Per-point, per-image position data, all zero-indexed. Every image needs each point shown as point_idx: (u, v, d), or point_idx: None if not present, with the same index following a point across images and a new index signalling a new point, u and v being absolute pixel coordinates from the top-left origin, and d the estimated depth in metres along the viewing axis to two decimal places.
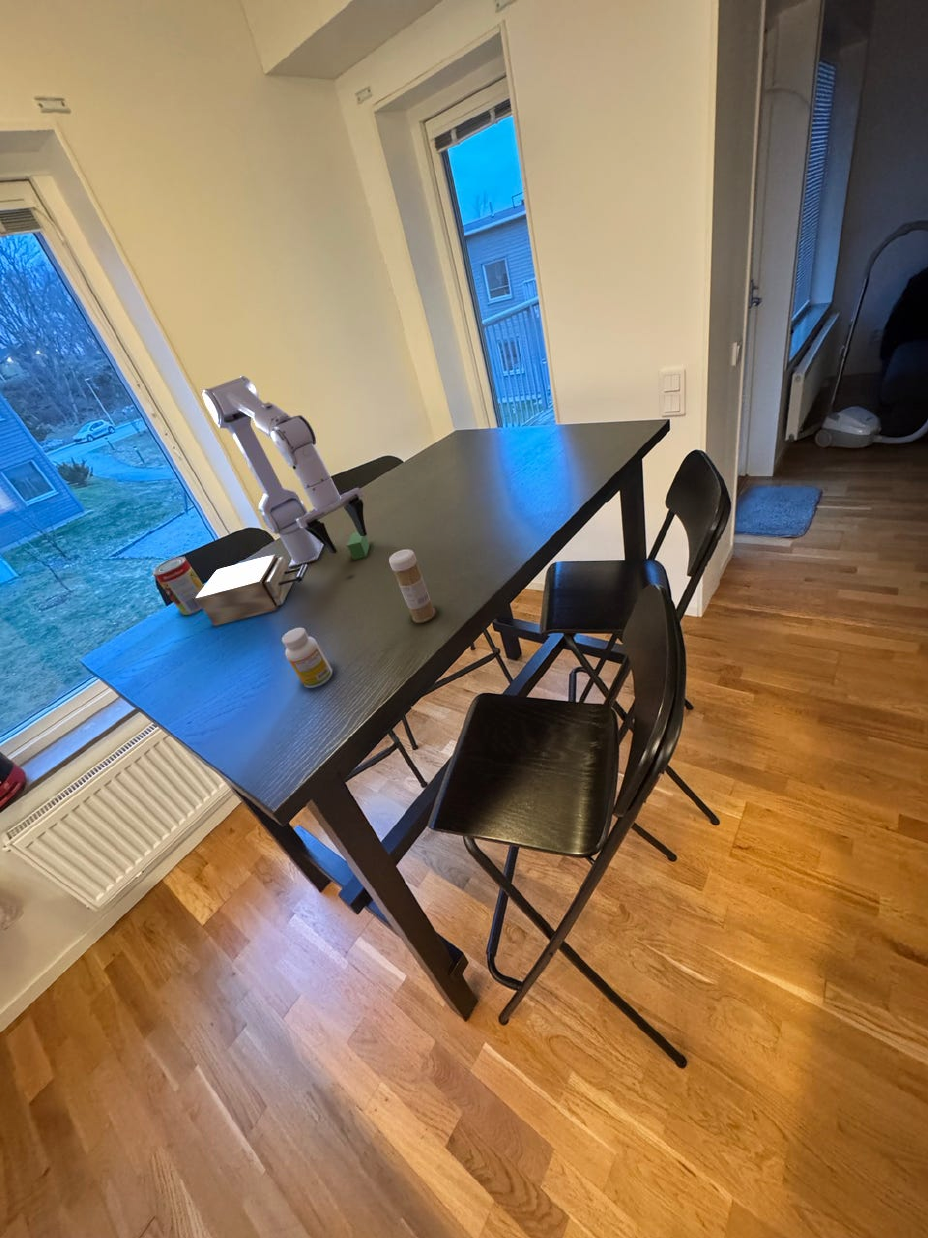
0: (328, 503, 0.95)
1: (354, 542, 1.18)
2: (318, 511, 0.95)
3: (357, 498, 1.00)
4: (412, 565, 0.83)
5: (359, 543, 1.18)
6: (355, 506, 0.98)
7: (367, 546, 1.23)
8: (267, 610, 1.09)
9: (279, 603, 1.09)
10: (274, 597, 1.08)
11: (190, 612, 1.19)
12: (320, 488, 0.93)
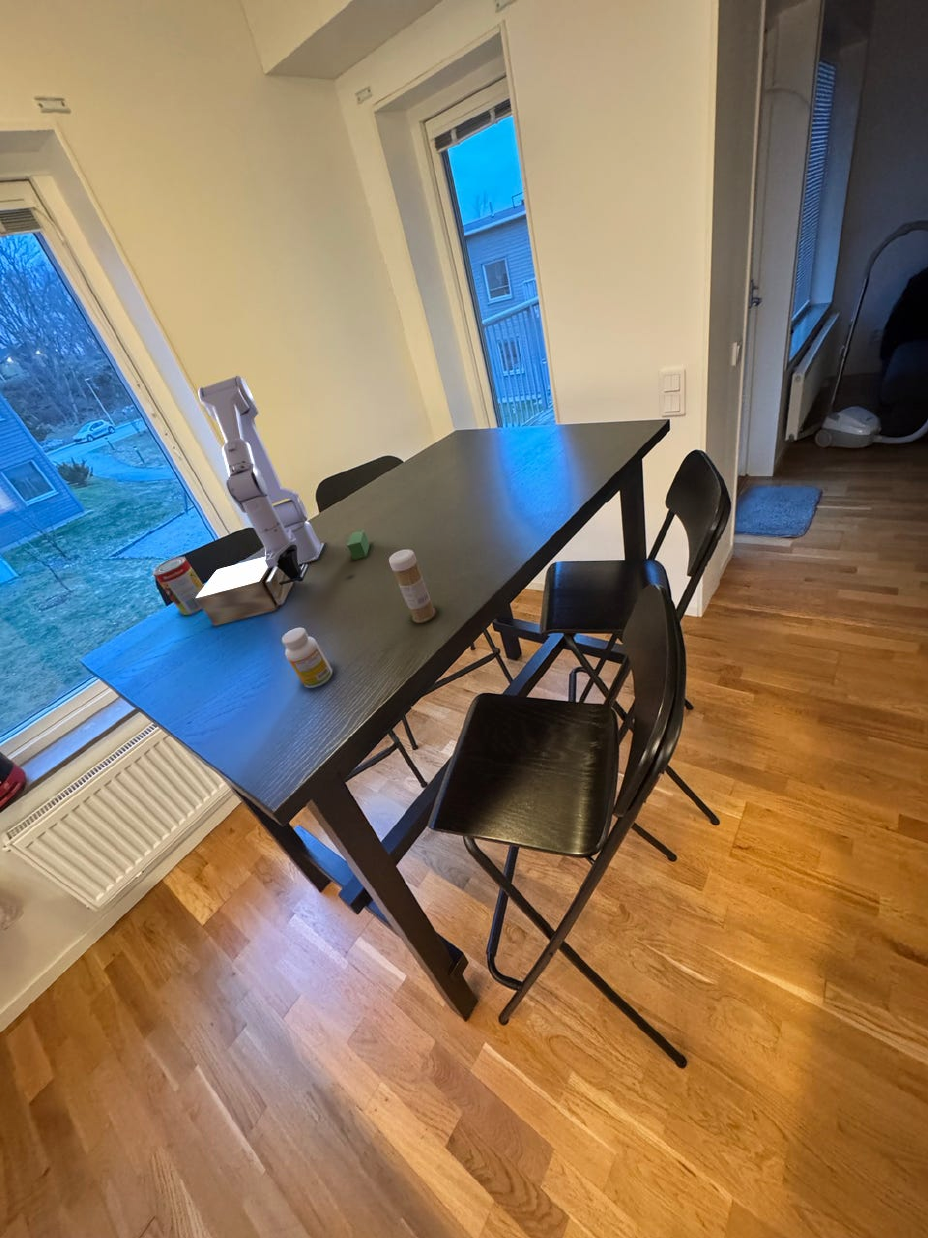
0: (287, 541, 1.06)
1: (354, 542, 1.18)
2: (283, 549, 1.04)
3: (291, 538, 1.13)
4: (412, 565, 0.83)
5: (359, 543, 1.18)
6: (295, 550, 1.08)
7: (367, 546, 1.23)
8: (267, 610, 1.09)
9: (280, 603, 1.09)
10: (275, 597, 1.08)
11: (190, 612, 1.19)
12: (280, 528, 1.04)
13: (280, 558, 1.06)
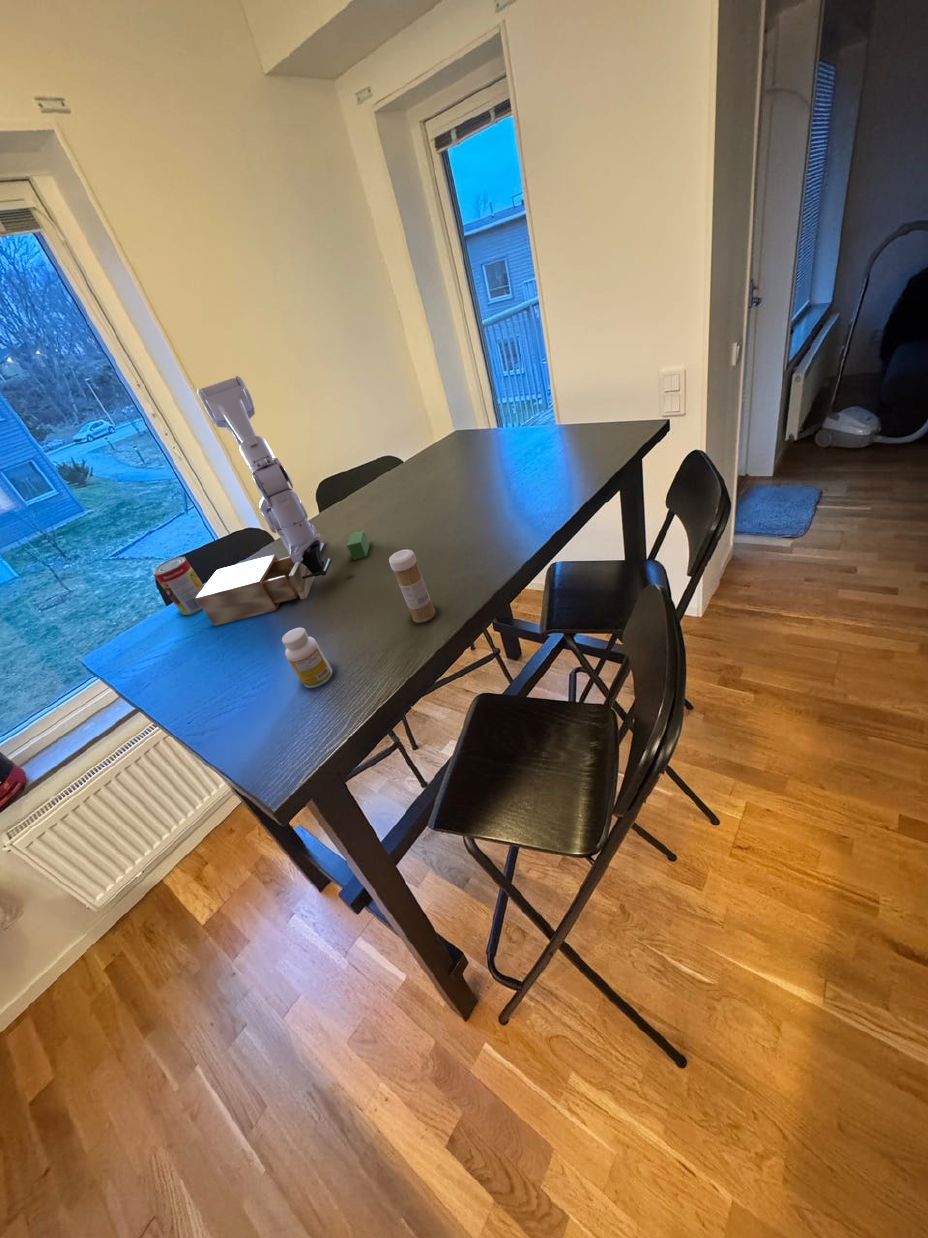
0: (311, 536, 1.05)
1: (354, 542, 1.18)
2: (307, 544, 1.04)
3: (314, 533, 1.12)
4: (412, 565, 0.83)
5: (359, 543, 1.18)
6: (318, 546, 1.08)
7: (367, 546, 1.23)
8: (267, 610, 1.09)
9: (303, 597, 1.08)
10: (298, 591, 1.07)
11: (190, 612, 1.19)
12: (305, 524, 1.03)
13: (304, 553, 1.06)
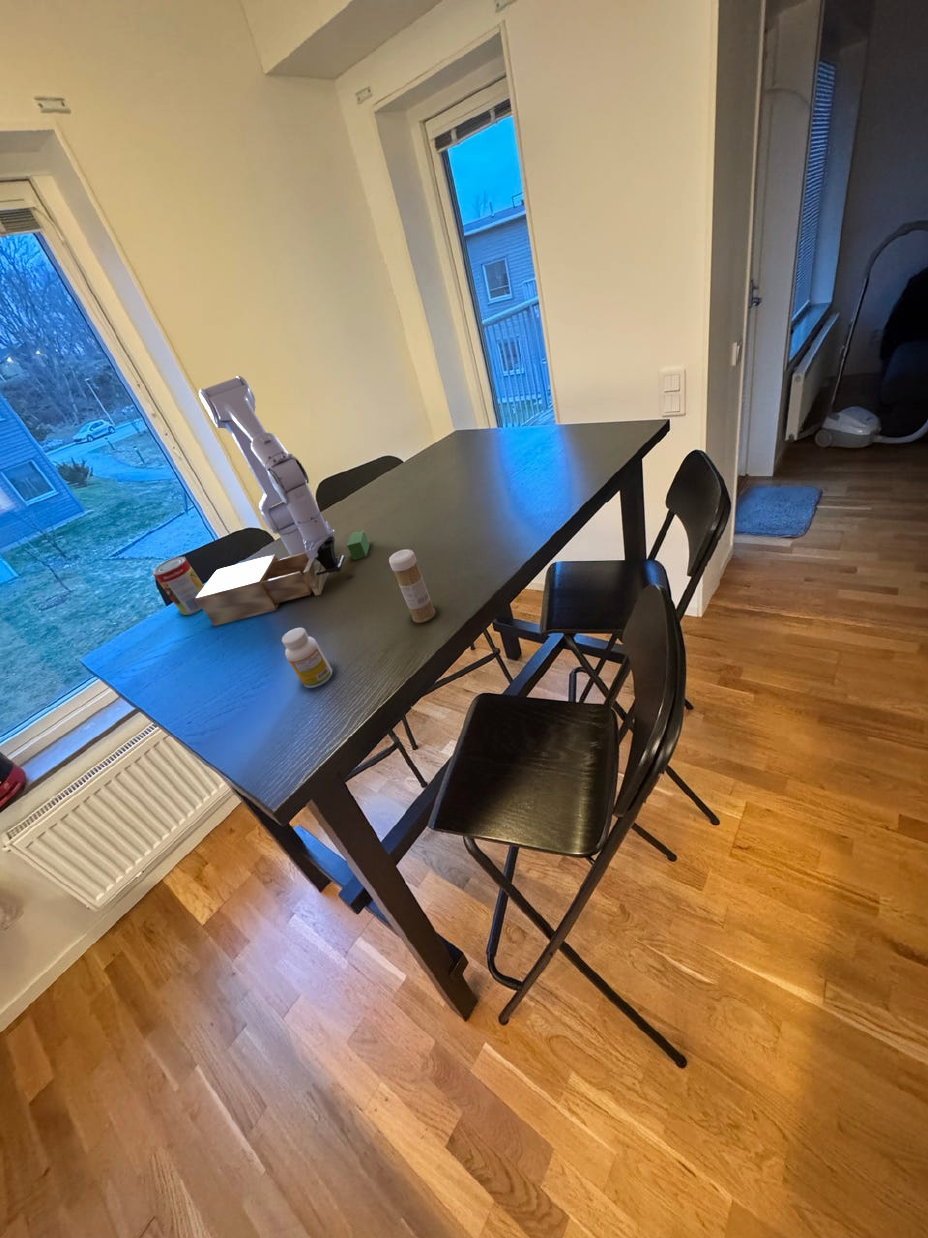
0: (326, 532, 1.05)
1: (354, 542, 1.18)
2: (322, 540, 1.03)
3: (328, 530, 1.12)
4: (412, 565, 0.83)
5: (359, 543, 1.18)
6: (333, 542, 1.08)
7: (367, 546, 1.23)
8: (267, 610, 1.09)
9: (317, 593, 1.08)
10: (312, 587, 1.07)
11: (190, 612, 1.19)
12: (320, 519, 1.03)
13: (319, 549, 1.05)
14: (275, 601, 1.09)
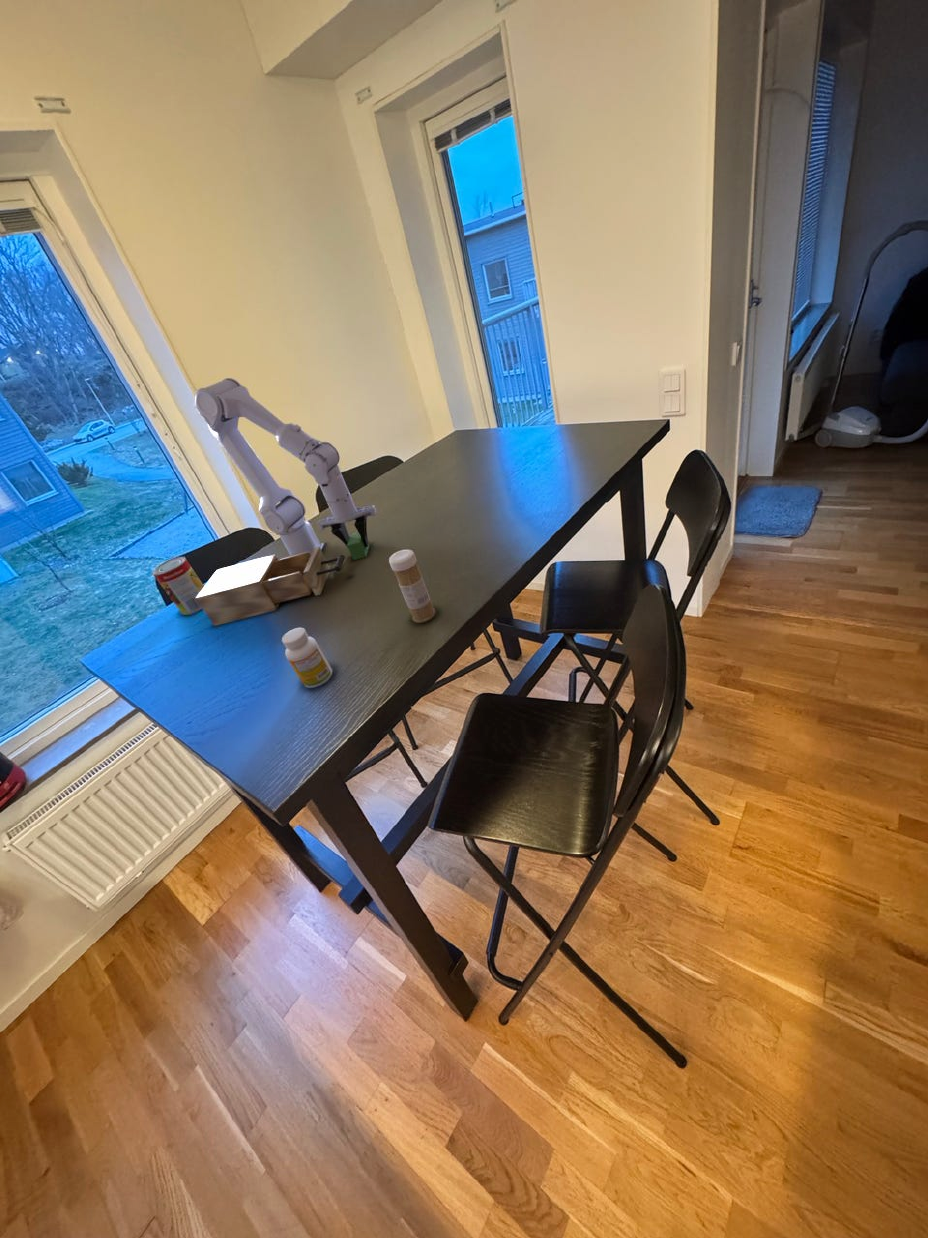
0: None
1: (354, 542, 1.18)
2: None
3: None
4: (412, 565, 0.83)
5: (359, 543, 1.18)
6: None
7: None
8: (267, 610, 1.09)
9: (317, 593, 1.08)
10: (312, 587, 1.07)
11: (190, 612, 1.19)
12: None
13: (365, 518, 1.18)
14: (275, 601, 1.09)
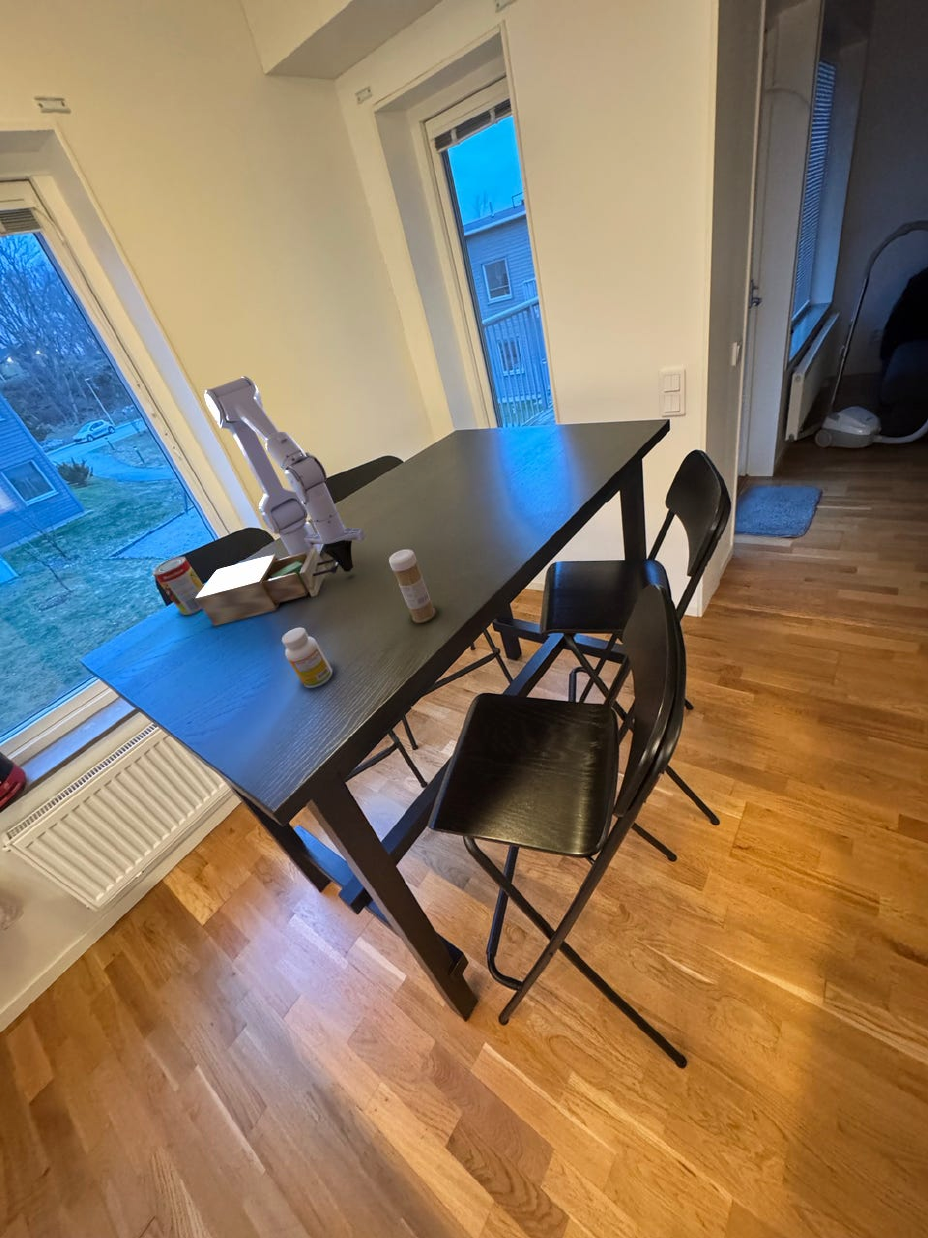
0: None
1: (276, 575, 1.09)
2: None
3: None
4: (412, 565, 0.83)
5: None
6: None
7: None
8: (267, 610, 1.09)
9: (313, 594, 1.08)
10: (309, 588, 1.07)
11: (190, 612, 1.19)
12: None
13: (347, 541, 1.07)
14: None
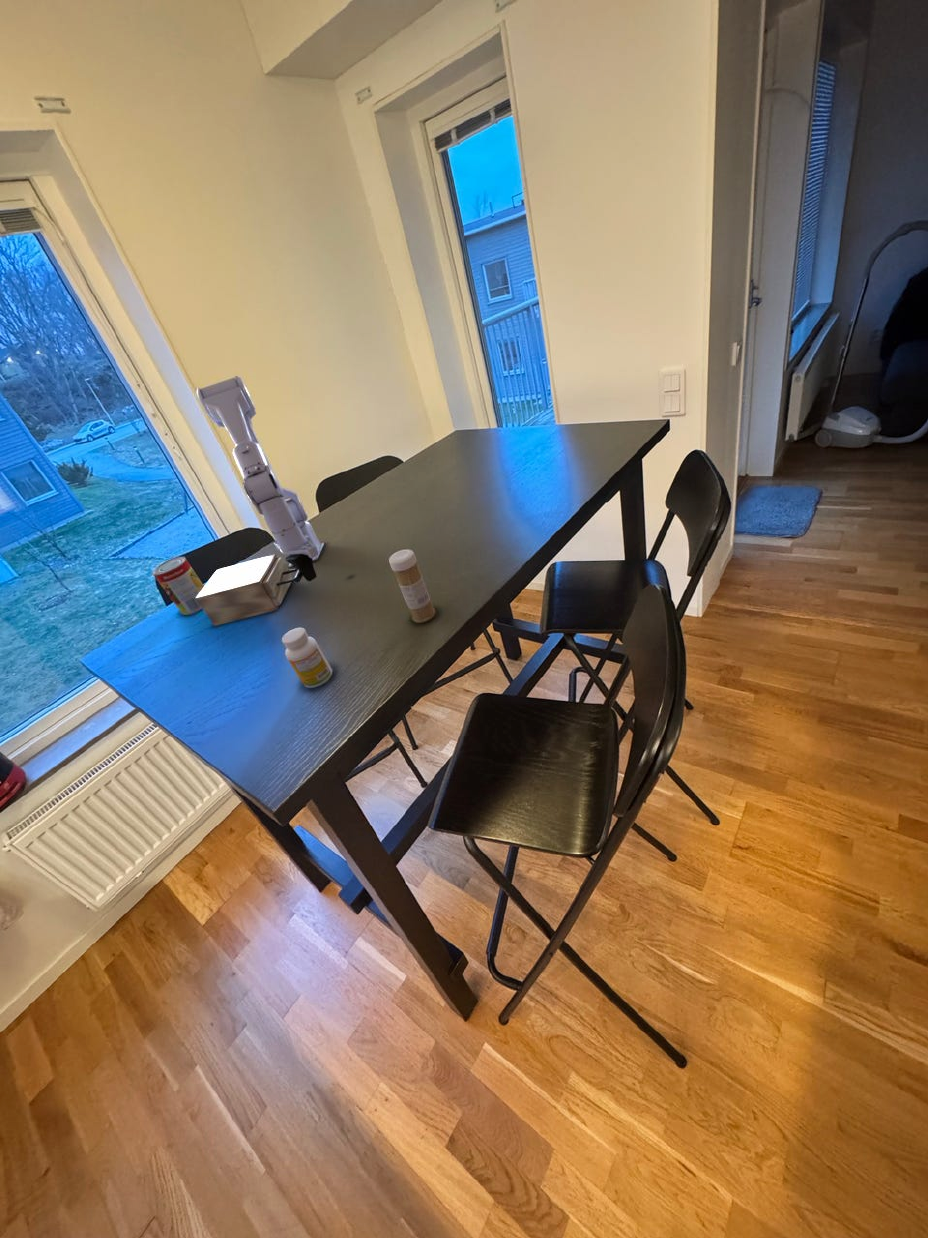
0: (304, 537, 1.08)
1: None
2: (309, 542, 1.07)
3: None
4: (412, 565, 0.83)
5: None
6: None
7: None
8: (267, 610, 1.09)
9: (277, 604, 1.09)
10: (272, 598, 1.08)
11: (190, 612, 1.19)
12: (298, 525, 1.06)
13: (304, 554, 1.07)
14: None
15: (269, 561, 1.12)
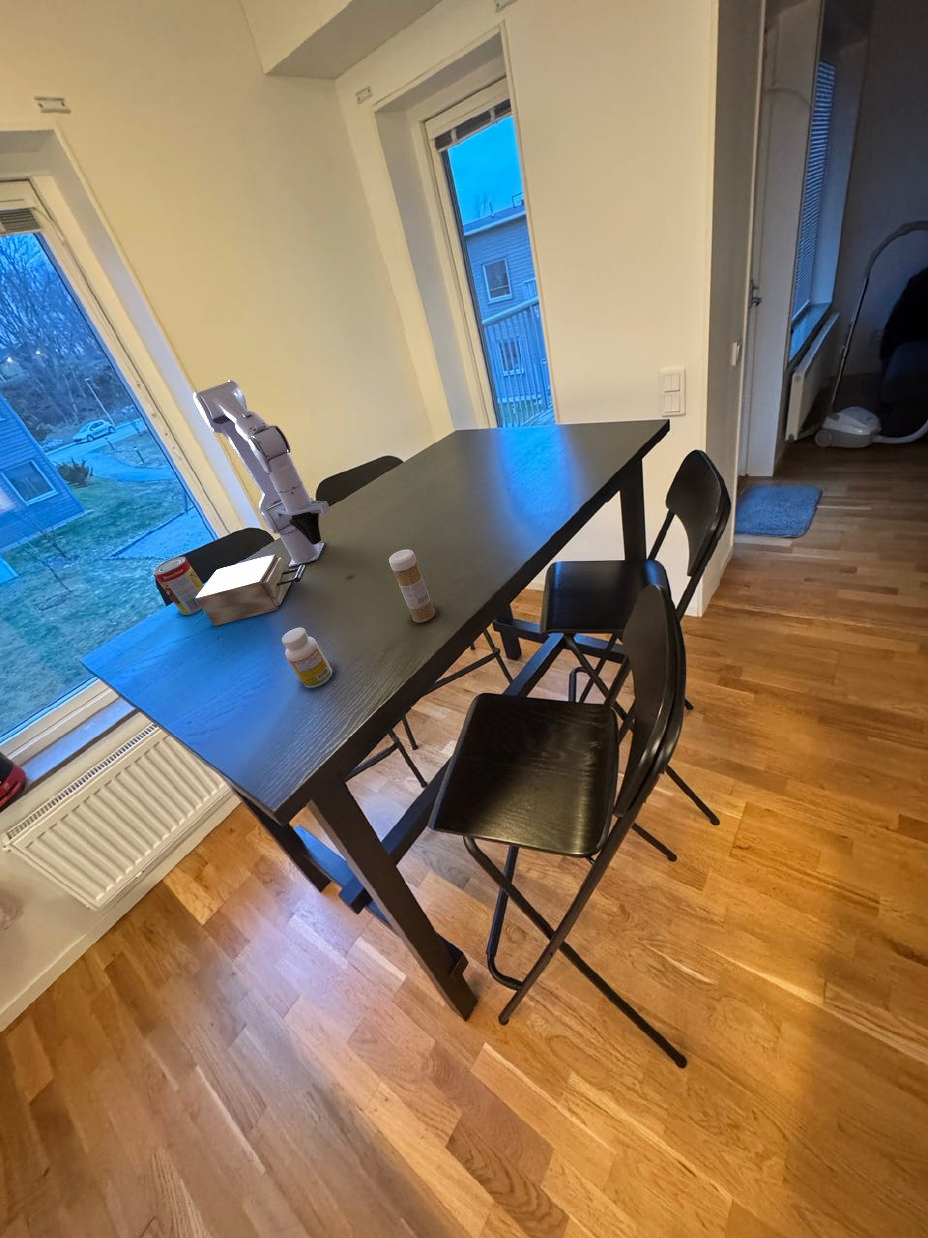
0: None
1: None
2: None
3: None
4: (412, 565, 0.83)
5: None
6: None
7: None
8: (267, 610, 1.09)
9: (277, 604, 1.09)
10: (272, 598, 1.08)
11: (190, 612, 1.19)
12: None
13: (313, 514, 1.07)
14: None
15: (269, 561, 1.12)
